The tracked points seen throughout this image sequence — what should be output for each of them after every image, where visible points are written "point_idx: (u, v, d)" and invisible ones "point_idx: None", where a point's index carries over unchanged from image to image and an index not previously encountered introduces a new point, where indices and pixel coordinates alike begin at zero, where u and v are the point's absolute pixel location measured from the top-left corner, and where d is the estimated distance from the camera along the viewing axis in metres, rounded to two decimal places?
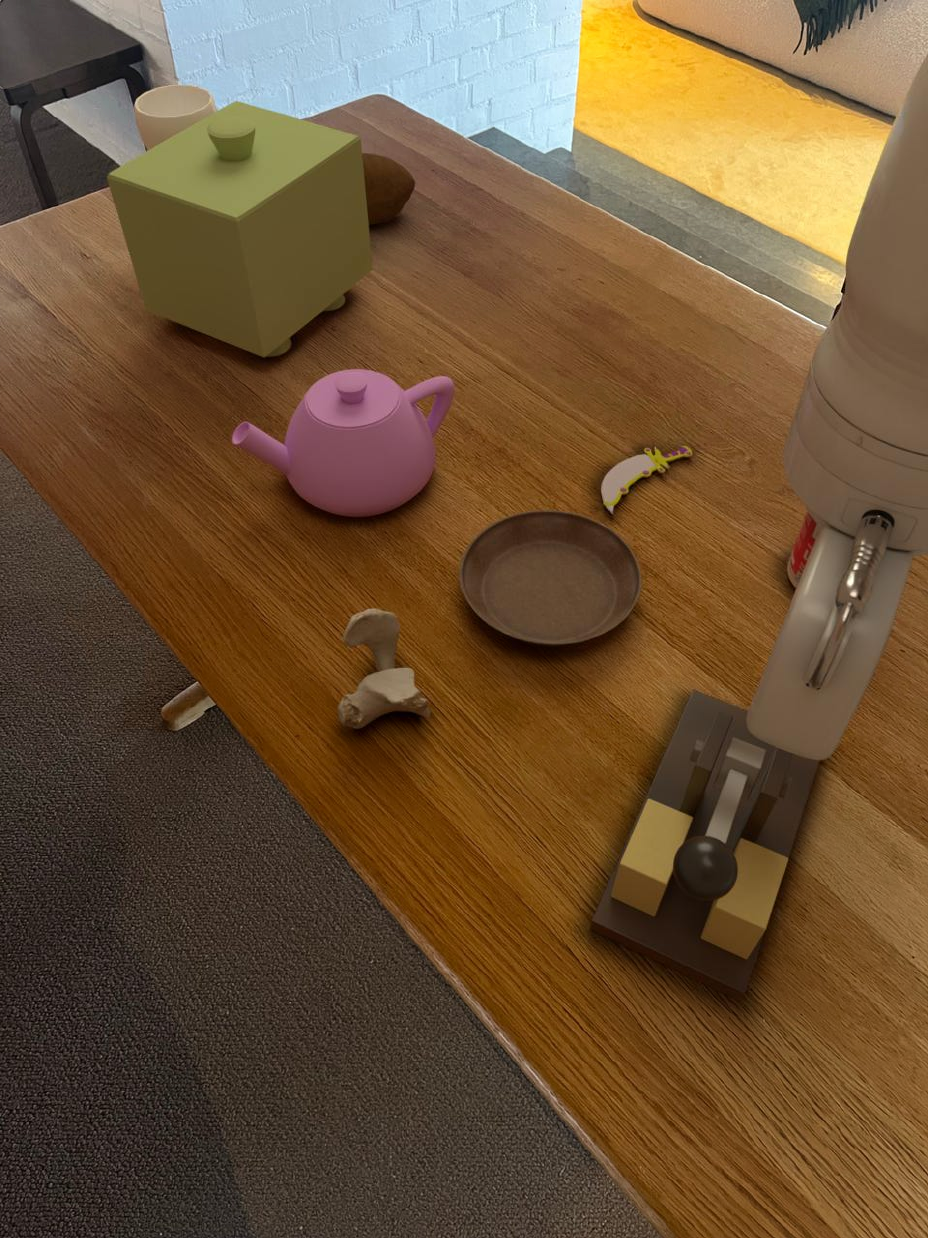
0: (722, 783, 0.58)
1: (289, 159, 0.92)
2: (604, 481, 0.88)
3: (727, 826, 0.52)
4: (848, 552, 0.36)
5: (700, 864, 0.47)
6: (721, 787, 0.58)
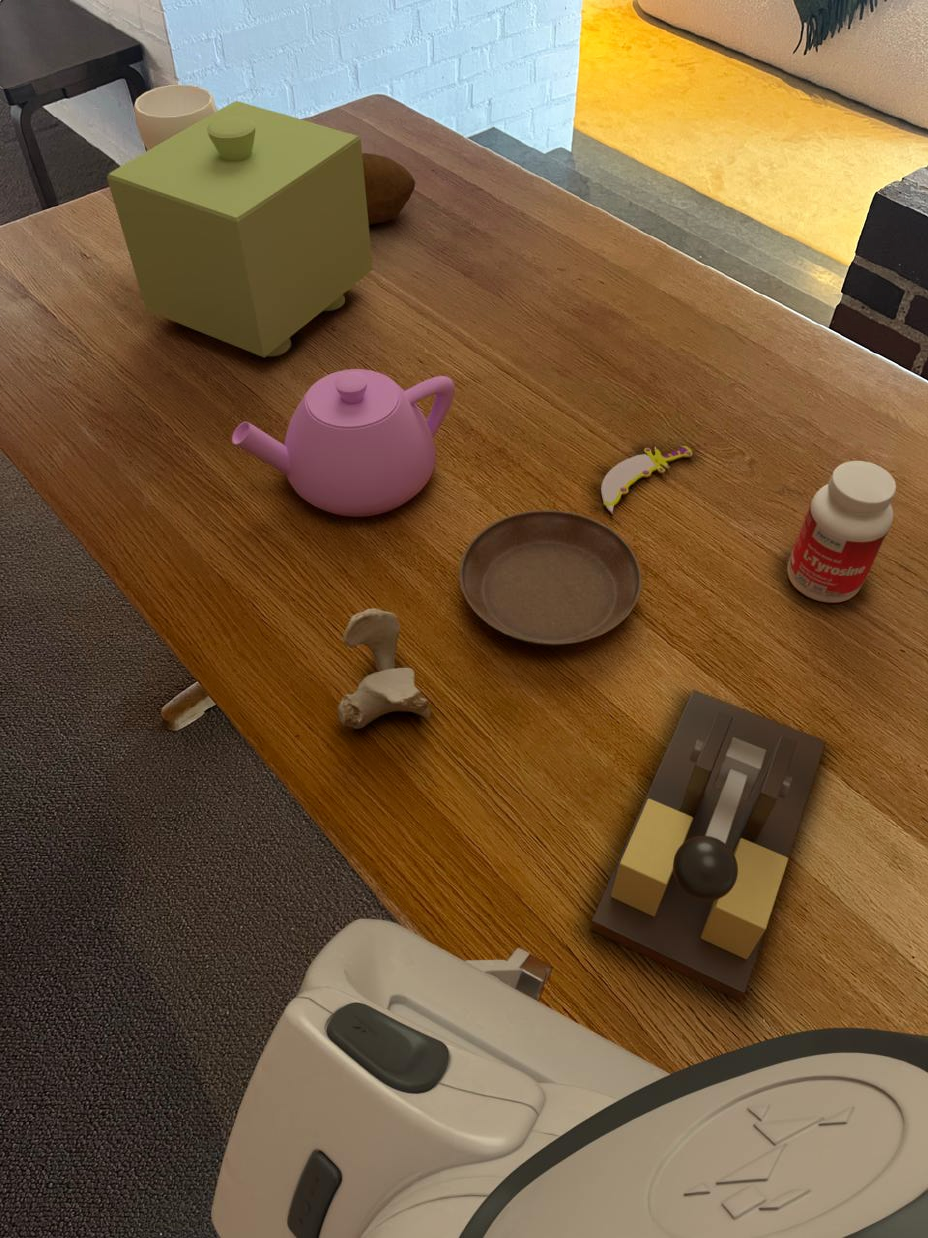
0: (722, 783, 0.58)
1: (289, 159, 0.92)
2: (604, 481, 0.88)
3: (727, 826, 0.52)
4: None
5: (700, 864, 0.47)
6: (721, 787, 0.58)
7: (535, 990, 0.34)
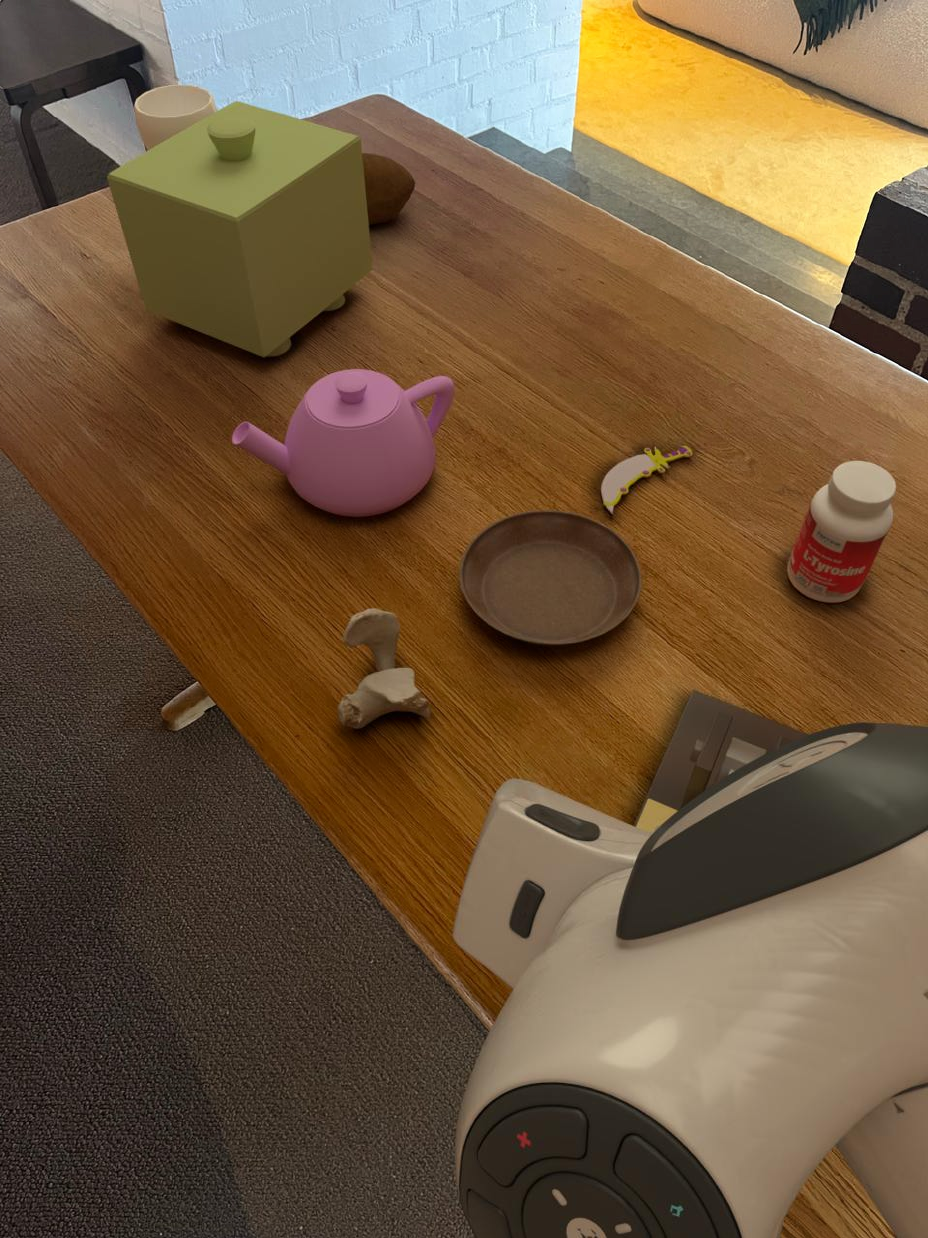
0: None
1: (290, 159, 0.92)
2: (604, 481, 0.88)
3: None
4: None
5: None
6: None
7: None
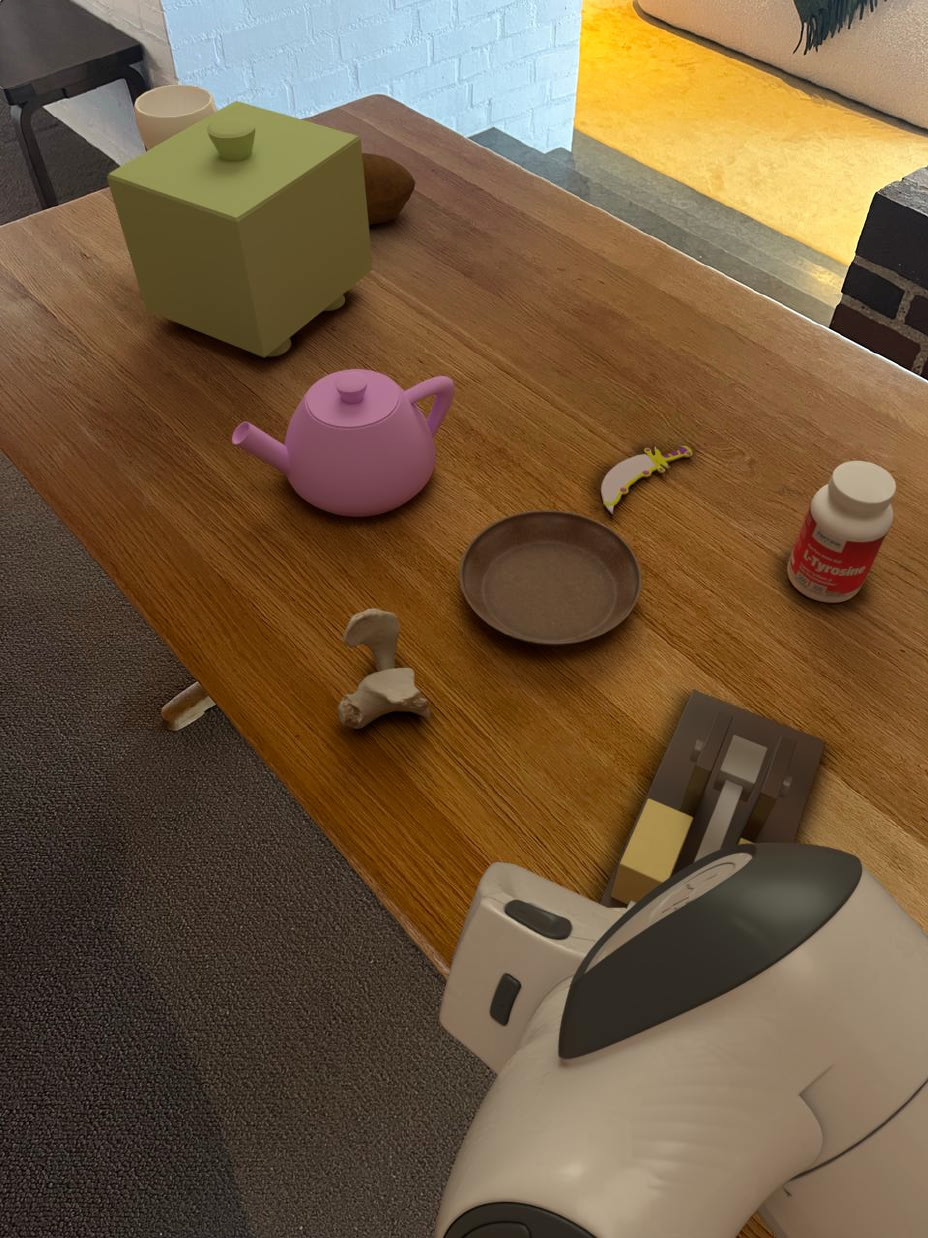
0: (720, 788, 0.59)
1: (289, 159, 0.92)
2: (604, 481, 0.88)
3: None
4: None
5: None
6: (720, 790, 0.59)
7: None
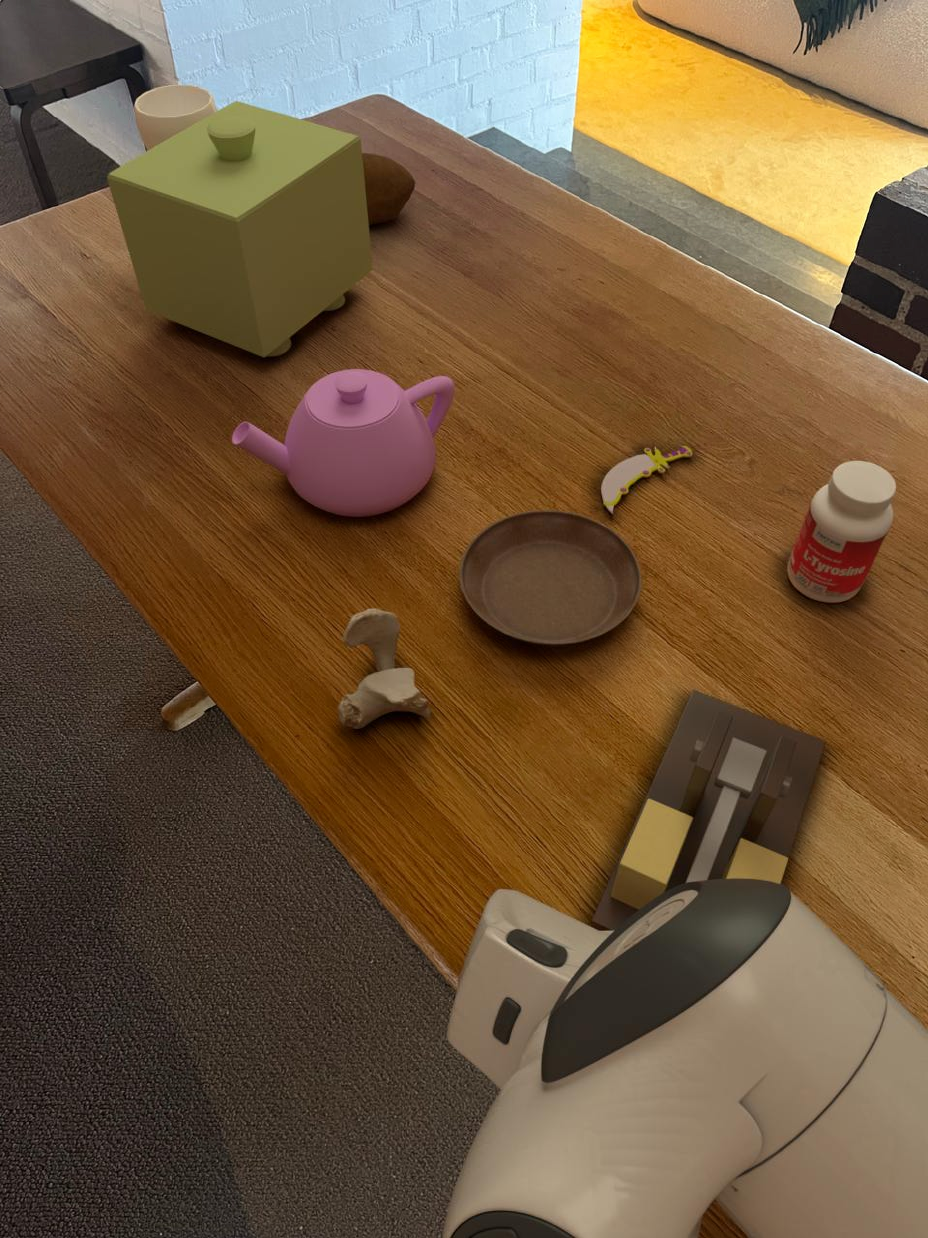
0: (720, 787, 0.60)
1: (289, 159, 0.92)
2: (604, 481, 0.88)
3: None
4: None
5: None
6: (721, 788, 0.60)
7: None
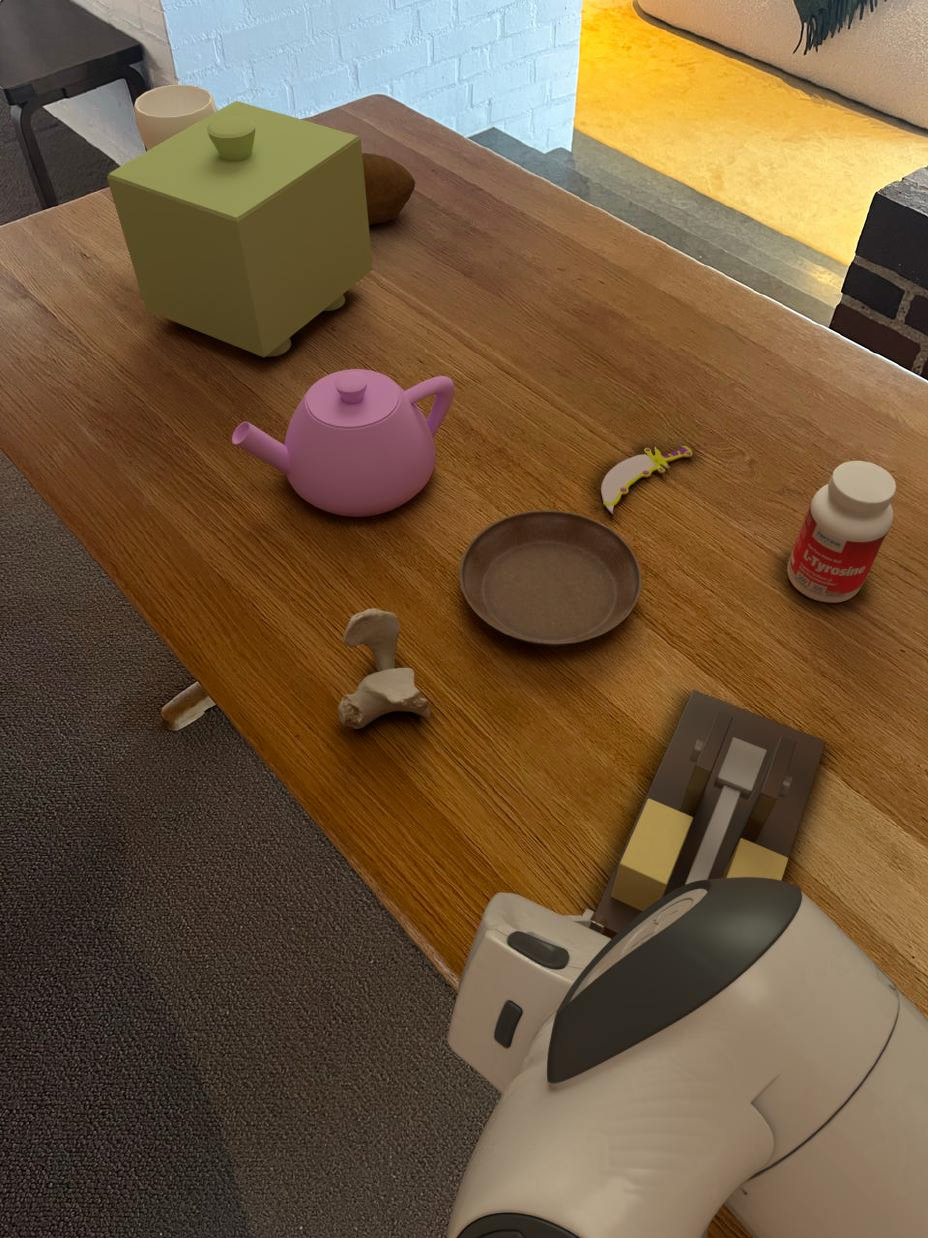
0: (720, 787, 0.59)
1: (289, 159, 0.92)
2: (604, 481, 0.88)
3: None
4: None
5: None
6: (720, 788, 0.60)
7: (599, 932, 0.57)
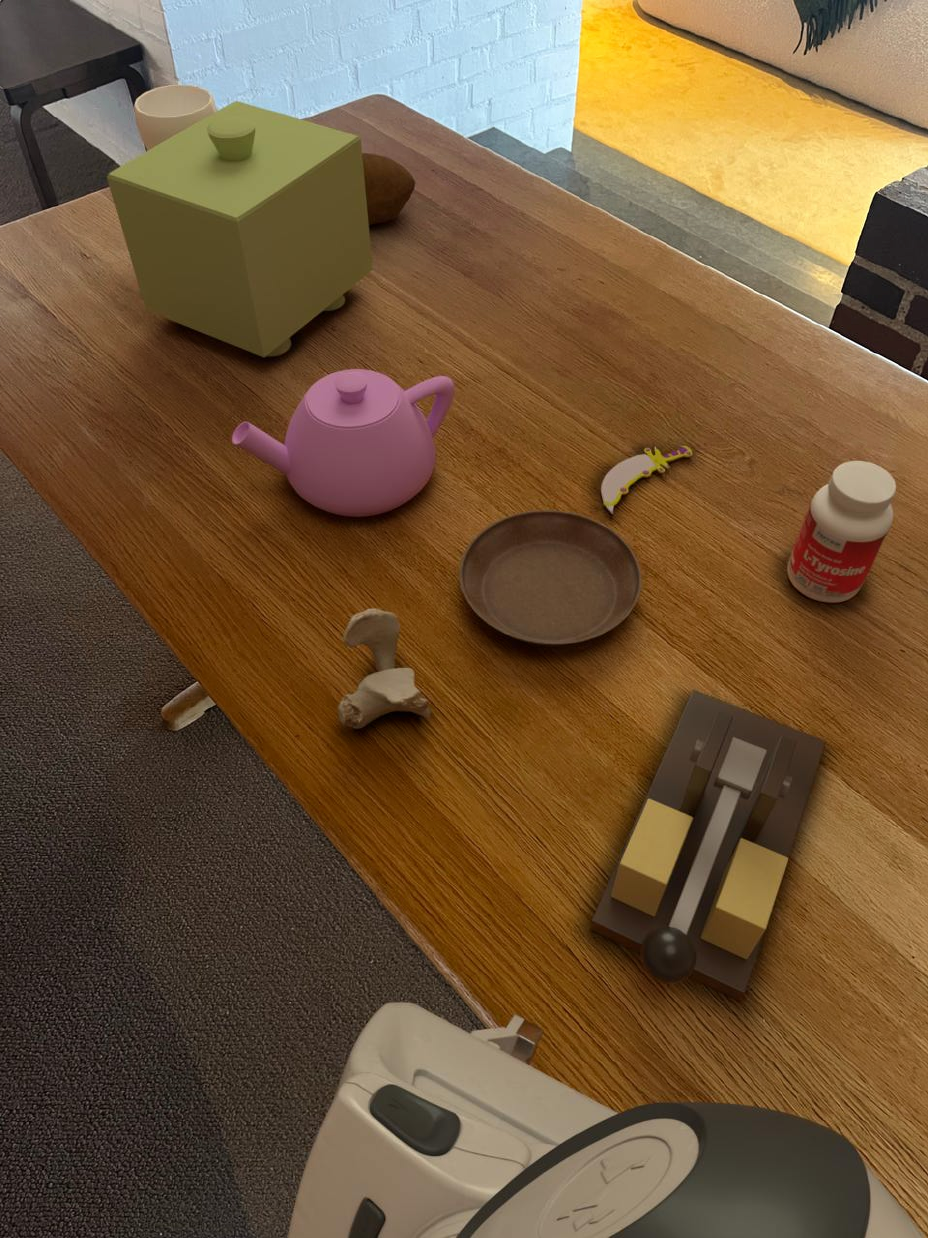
0: (720, 787, 0.59)
1: (289, 159, 0.92)
2: (604, 481, 0.88)
3: (699, 893, 0.56)
4: None
5: (655, 972, 0.55)
6: (720, 788, 0.60)
7: (529, 1051, 0.42)
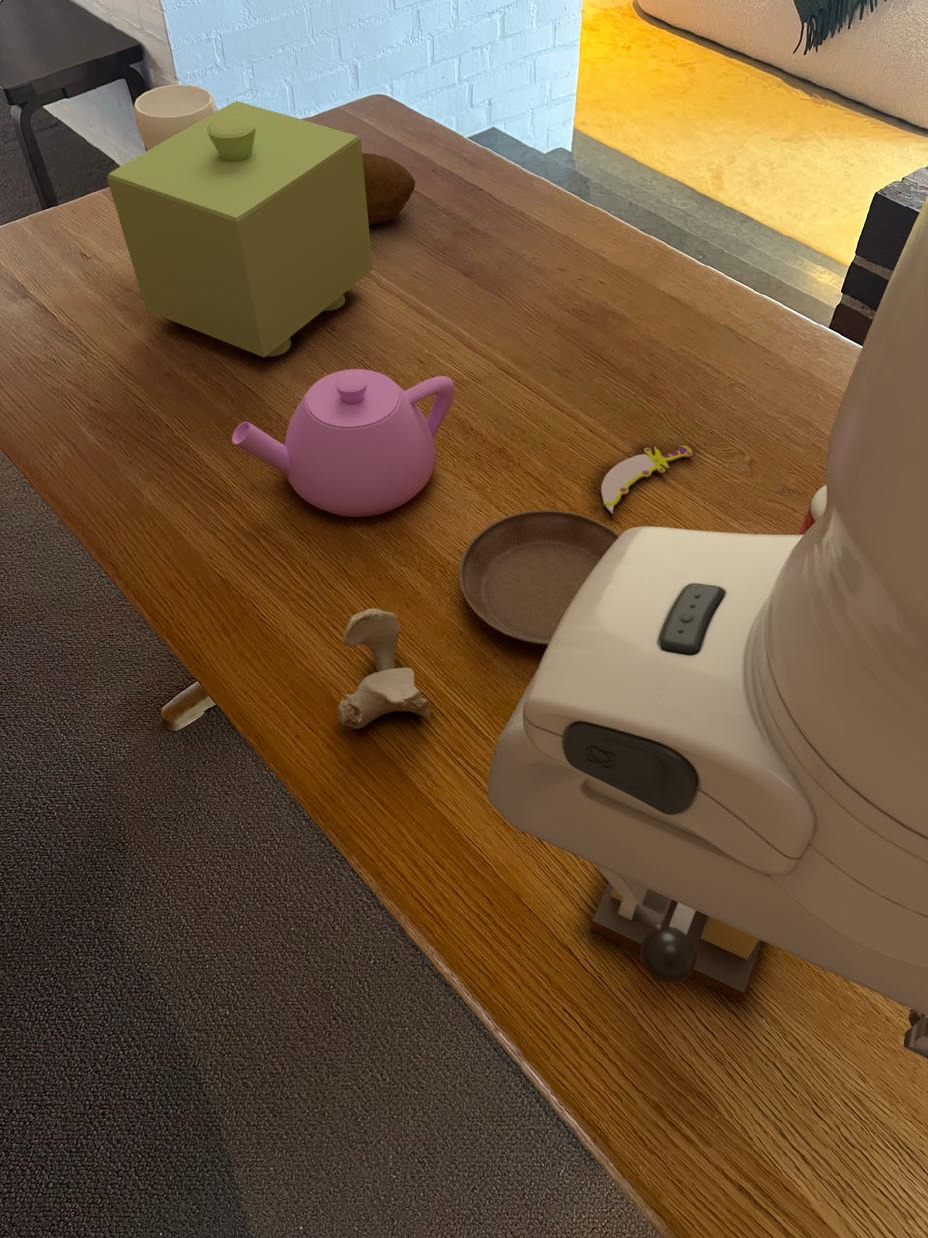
0: None
1: (289, 159, 0.92)
2: (604, 481, 0.88)
3: None
4: None
5: (655, 972, 0.55)
6: None
7: None
